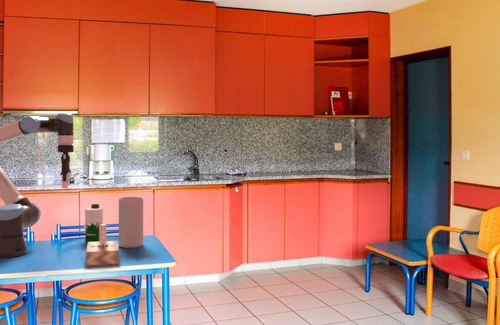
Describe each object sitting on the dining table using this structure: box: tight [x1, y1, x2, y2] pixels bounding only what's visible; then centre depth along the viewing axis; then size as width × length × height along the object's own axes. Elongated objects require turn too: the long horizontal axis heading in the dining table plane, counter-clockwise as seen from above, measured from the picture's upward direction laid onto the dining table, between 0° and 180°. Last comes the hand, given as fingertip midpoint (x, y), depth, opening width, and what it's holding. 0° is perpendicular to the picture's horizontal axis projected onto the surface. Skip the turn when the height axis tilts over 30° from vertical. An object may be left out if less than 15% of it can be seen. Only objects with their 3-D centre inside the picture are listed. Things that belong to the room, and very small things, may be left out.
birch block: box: [85, 240, 120, 266], centre depth 235 cm, size 14×22×6 cm, turn 16°
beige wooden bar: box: [99, 223, 107, 247], centre depth 235 cm, size 3×3×16 cm
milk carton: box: [84, 203, 104, 243], centre depth 273 cm, size 9×9×20 cm
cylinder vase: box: [118, 196, 144, 249], centre depth 263 cm, size 12×12×25 cm
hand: (65, 186), depth 252 cm, fingers open, 13 cm apart
